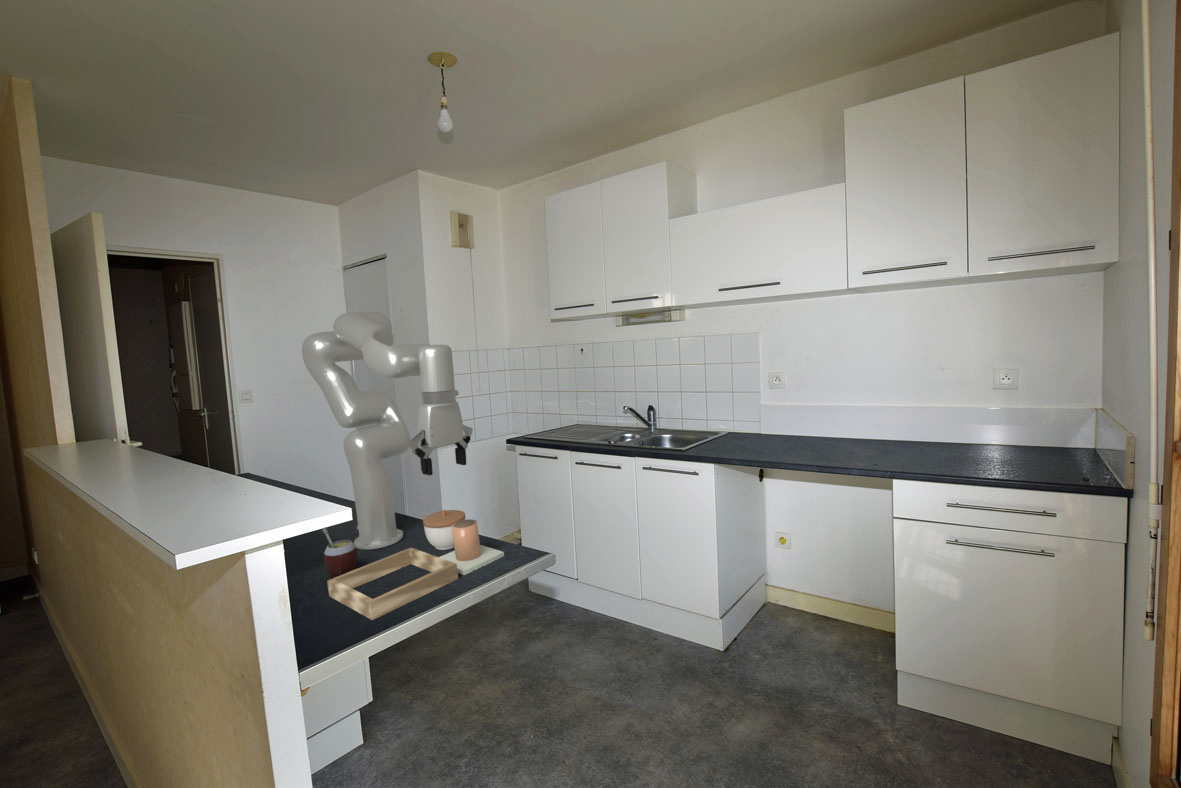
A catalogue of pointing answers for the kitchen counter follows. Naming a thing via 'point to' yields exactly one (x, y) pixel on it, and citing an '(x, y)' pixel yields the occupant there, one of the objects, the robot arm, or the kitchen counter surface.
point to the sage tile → (468, 566)
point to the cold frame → (398, 597)
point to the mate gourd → (340, 557)
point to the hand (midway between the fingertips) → (444, 469)
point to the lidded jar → (442, 527)
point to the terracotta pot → (466, 540)
